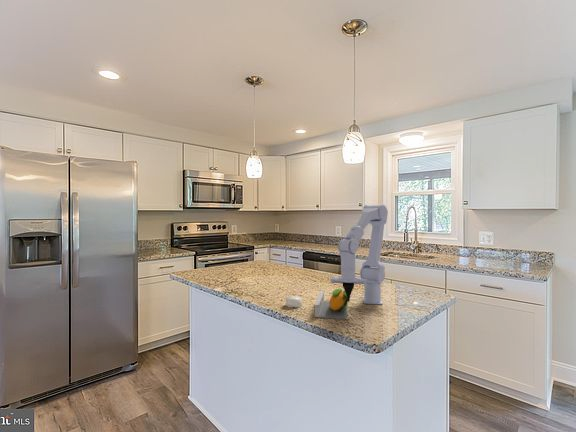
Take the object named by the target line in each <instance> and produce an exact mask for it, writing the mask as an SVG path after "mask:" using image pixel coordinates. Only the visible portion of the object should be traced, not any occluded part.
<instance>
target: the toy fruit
mask: <svg viewBox="0 0 576 432" xmlns="http://www.w3.org/2000/svg"><path fill="white" fill-rule="evenodd" d="M328 301H329V304H330V309H331V310H334V311H335V310H339V309H340V308H341V307H342V306H343V305H344V306H343V309H342V311H343V310H344V309H345V307H346V306H347V307H348V305H347V302H348V300H347V295H346V292H345V290H344V289H342V288H336V289H334V290H333V291H332V294H331V297H330V299H329V300H328ZM348 303H349V302H348Z"/></svg>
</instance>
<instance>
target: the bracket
mask: <svg viewBox="0 0 576 432" xmlns="http://www.w3.org/2000/svg"><path fill="white" fill-rule="evenodd" d="M329 301H330V300H328V301H327V300H325V290H320V291H319V293H318V295H317V297H316V300H315V303H314V318H315V319H316V318H317V319H329V320H330V319H332V320H344V321H345V320H348V319H347V318H348V303H349V302H347V306H346V307H345V309H344V310H343V311H342V309H343V306H344V305H343V306H342V307H341V308H340V309H339V310H335V311H334V310H331V309H330V304H329Z"/></svg>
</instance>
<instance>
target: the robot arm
mask: <svg viewBox="0 0 576 432" xmlns="http://www.w3.org/2000/svg"><path fill="white" fill-rule="evenodd" d="M388 214H389V213H388V208H387V206H386V205H385V204H369V205H368V204H365V205H364V206H363V207H362V208H361V216H360V218H359V220H358V222H357V223H356V225H353V226H351V228H350V230H349V231H348V233H347V234H346V235H345V237H344V238H342V239H341V240H339V242H338V245H337V249H338V252H339V256H340V267H341V268H340V271H341V272H340V277H330V280H329V281H330V284H342V288H343V291H344V290H345V292H346V295H347V300H348V303H350V300H351V296H352V295H351V294H352V292H353V291H354V287H355V285H363V287H364V288H363V290H364V291H363V292H364V293H363V297H362V300H363V301H362V302H363V304H365V305H366V304H368V305H369V304H370V305H383V301H382V296H381V294H382V293H381V292H382V290H381V289H382V287H381V286H382V285H381V284H382V283H383V282H384V280H385V278H386V273H385V266H384V265H383V264H382V262H381V259H380V258H381V254H382V253H381V252H382V246H383V237H384V231H385V230H384V229H385V225H386V224H387V221H388ZM369 224H370V225H371V226H372V227H371V235H370V241H369V242H370V243H369V248H368V257H367V259H366V260H365V261H363V262H362V264H361V268H360V271H359V276H360V277H359V278H358V277H356V253H357V252H358V250H359V245H360V241H361V239H362V238H363V236H364V235H365V229H366V227H367V226H368V225H369Z"/></svg>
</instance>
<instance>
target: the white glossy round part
mask: <svg viewBox="0 0 576 432" xmlns="http://www.w3.org/2000/svg"><path fill="white" fill-rule="evenodd" d="M302 303H303V297H301V296H299V295H298V296H297V295H290V296H286V297H285V307H286V306H288V307H299V308H301V307H302V306H303V304H302ZM300 306H301V307H300ZM288 307H287V308H288Z"/></svg>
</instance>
